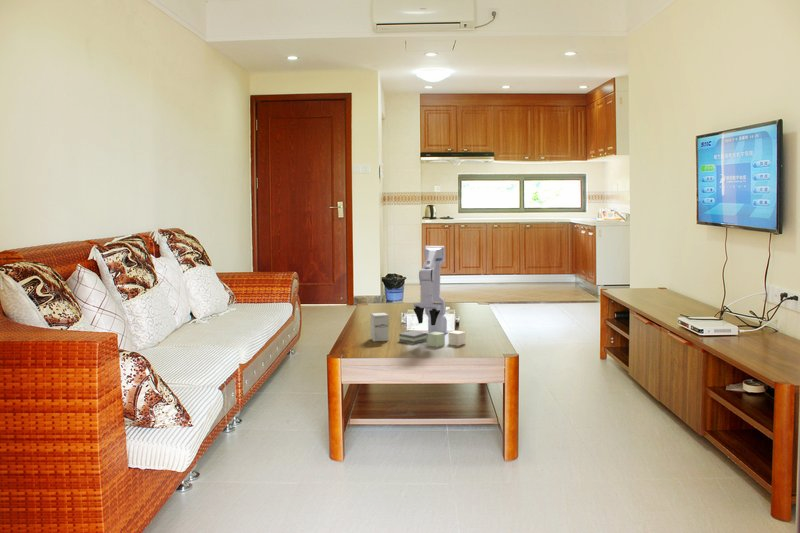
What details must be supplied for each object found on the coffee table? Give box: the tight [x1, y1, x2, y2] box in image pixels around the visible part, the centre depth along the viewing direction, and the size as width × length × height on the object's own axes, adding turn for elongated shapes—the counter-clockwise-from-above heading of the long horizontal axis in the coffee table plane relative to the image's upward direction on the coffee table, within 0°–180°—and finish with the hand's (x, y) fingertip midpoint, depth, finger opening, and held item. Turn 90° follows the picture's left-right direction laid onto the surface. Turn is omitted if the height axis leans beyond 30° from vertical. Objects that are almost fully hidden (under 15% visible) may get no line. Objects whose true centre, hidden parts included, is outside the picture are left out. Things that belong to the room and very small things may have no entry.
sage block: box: [427, 332, 446, 348], centre depth 313 cm, size 6×6×6 cm
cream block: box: [448, 330, 466, 347], centre depth 316 cm, size 6×6×6 cm
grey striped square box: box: [398, 330, 427, 345], centre depth 323 cm, size 9×9×4 cm
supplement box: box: [370, 312, 390, 343], centre depth 325 cm, size 7×7×13 cm
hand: (426, 324), depth 314 cm, fingers open, 7 cm apart
